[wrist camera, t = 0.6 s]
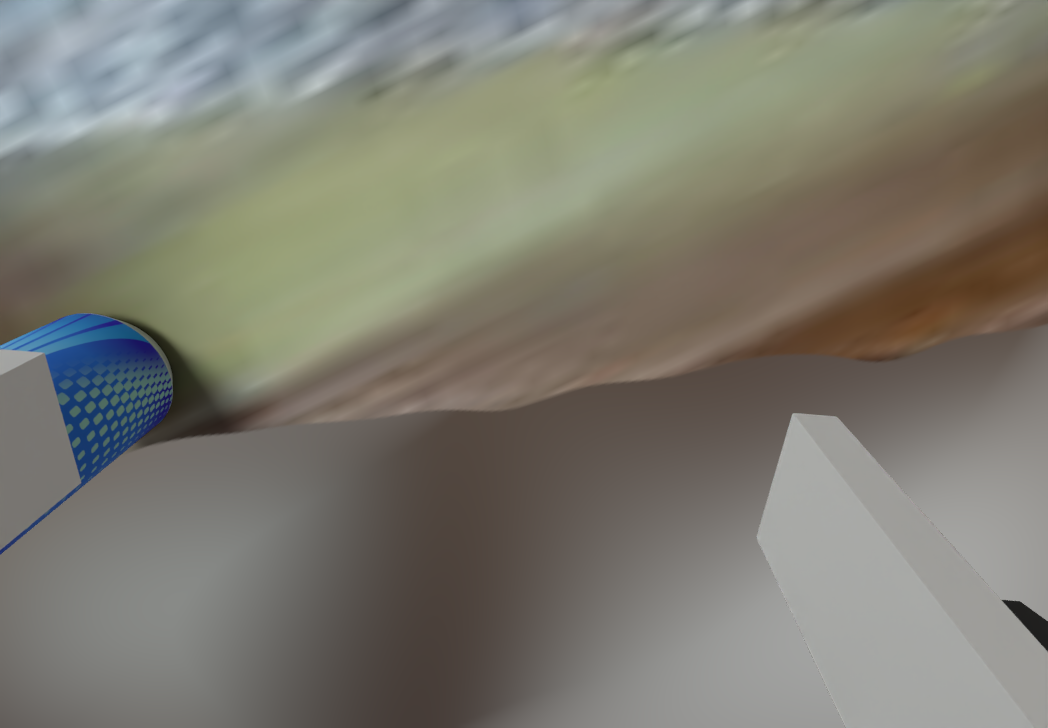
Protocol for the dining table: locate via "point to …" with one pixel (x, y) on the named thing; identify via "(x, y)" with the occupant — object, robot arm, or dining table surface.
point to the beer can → (101, 387)
